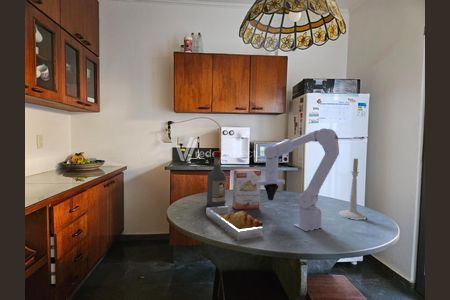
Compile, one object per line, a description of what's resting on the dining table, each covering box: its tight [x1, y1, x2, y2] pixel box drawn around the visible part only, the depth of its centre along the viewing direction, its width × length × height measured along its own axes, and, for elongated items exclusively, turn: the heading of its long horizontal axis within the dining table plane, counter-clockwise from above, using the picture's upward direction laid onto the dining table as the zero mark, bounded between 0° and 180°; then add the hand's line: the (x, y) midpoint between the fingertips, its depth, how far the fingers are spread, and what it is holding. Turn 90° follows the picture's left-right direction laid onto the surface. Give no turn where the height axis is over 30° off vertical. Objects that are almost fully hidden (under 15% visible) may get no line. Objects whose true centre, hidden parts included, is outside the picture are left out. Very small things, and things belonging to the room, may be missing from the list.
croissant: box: [219, 210, 264, 230], centre depth 116 cm, size 21×10×8 cm, turn 68°
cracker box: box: [232, 168, 262, 210], centre depth 144 cm, size 14×6×21 cm, turn 105°
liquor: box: [206, 150, 227, 207], centre depth 148 cm, size 9×9×30 cm
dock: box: [205, 205, 264, 241], centre depth 117 cm, size 11×33×4 cm, turn 25°
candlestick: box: [338, 158, 367, 218], centre depth 133 cm, size 13×13×30 cm
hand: (270, 199), depth 125 cm, fingers closed
